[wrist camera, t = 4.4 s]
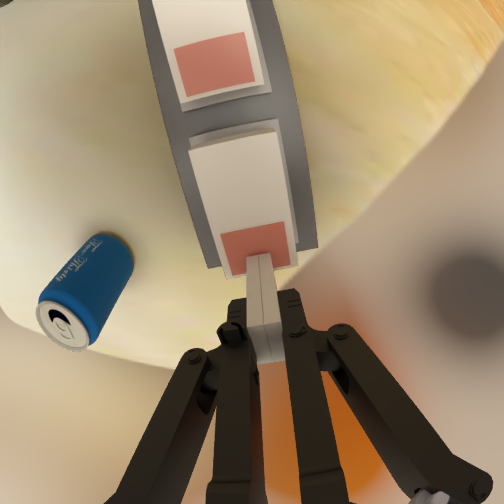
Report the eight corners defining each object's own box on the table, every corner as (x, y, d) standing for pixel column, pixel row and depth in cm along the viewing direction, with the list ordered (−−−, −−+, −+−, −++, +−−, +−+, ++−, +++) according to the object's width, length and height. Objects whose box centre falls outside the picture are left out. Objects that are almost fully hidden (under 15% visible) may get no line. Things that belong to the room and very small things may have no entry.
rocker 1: (156, -13, 10) (145, -22, 8) (233, -33, 10) (233, -45, 8) (186, 98, 16) (180, 104, 14) (260, 81, 15) (264, 84, 13)
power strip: (145, -27, 13) (127, -48, 9) (246, -52, 13) (247, -78, 8) (212, 247, 28) (206, 276, 24) (308, 228, 27) (321, 254, 23)
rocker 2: (194, 144, 16) (187, 151, 14) (271, 127, 16) (276, 131, 14) (227, 260, 21) (226, 280, 19) (292, 248, 21) (298, 266, 18)
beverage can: (129, 230, 27) (76, 301, 16) (140, 281, 30) (103, 359, 20) (81, 231, 27) (21, 294, 16) (94, 279, 30) (50, 348, 19)
